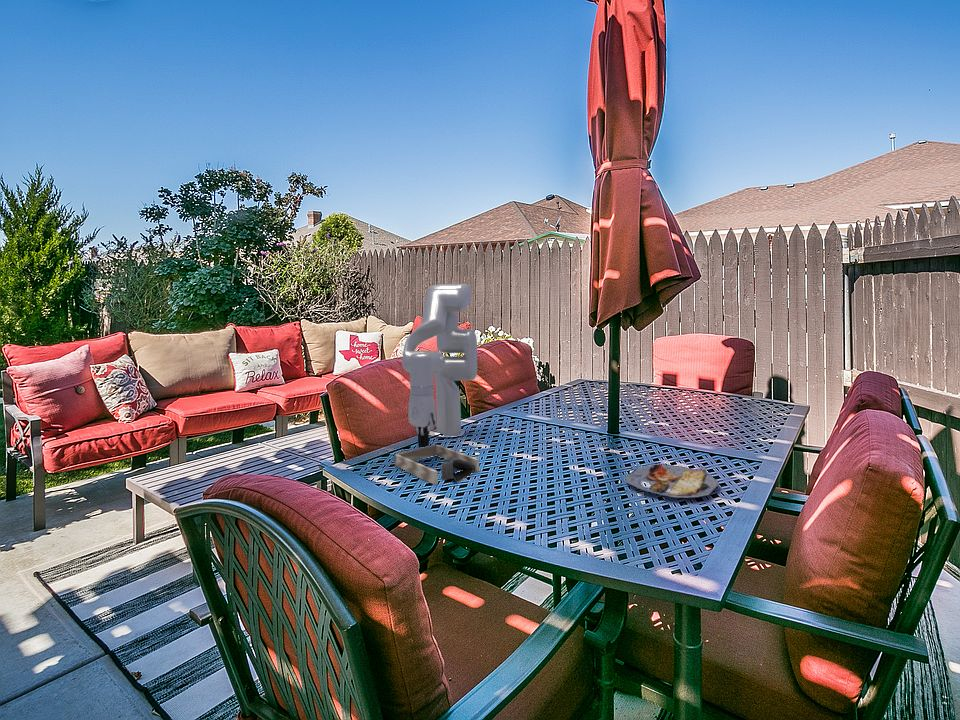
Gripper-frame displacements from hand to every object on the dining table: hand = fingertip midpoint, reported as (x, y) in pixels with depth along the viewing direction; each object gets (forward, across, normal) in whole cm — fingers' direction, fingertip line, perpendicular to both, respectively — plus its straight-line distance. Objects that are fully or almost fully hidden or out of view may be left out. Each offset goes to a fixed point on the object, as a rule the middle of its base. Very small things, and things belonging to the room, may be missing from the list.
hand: (423, 445), depth 168 cm
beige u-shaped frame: (+6, +6, +1) cm, 9 cm away
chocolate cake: (+7, +16, +2) cm, 17 cm away
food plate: (+7, +64, +42) cm, 77 cm away
